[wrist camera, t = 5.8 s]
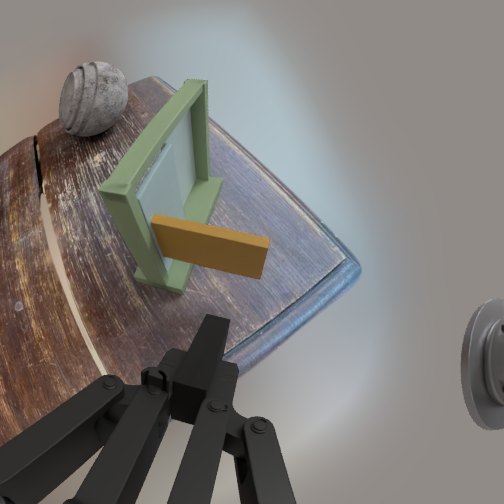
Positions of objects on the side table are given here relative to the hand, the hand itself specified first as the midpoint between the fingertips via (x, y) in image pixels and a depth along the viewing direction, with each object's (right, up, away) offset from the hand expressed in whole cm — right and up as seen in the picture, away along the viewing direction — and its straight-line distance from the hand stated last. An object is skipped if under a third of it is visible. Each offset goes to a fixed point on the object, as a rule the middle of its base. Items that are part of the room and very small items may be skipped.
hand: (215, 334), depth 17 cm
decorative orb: (-28, +30, +29) cm, 50 cm away
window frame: (-7, +8, +18) cm, 21 cm away
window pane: (-2, +5, +14) cm, 15 cm away
